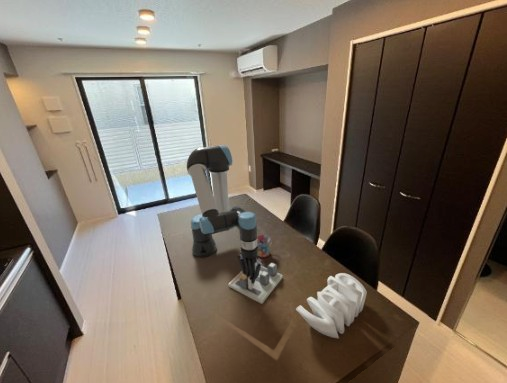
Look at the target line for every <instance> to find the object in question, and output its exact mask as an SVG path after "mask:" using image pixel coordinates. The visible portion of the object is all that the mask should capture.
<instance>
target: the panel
mask: <svg viewBox="0 0 507 383" xmlns="http://www.w3.org/2000/svg"><path fill="white" fill-rule="evenodd" d="M256 265H257V263H255V269H256ZM243 275H245V274H243V272H242V270H241V271H240V272H239V273H238V274H237V275H235V277H234V278H233V279H232V280H231V281H229V283H228V287H229V288H231V289H233V290H234V291H237V292H238V293H240V294H242V295H244V296H246V297H248V298H249V299H251V300H253V301H255V302H257V303H259V304H264V302H265V301H266V300H267V298H268V296H269V295H270V294H271V293H272V292H273V290H274V289H275V288H276V287H277V285H278V284H279V283H280V281H282V279H283V274H281V273H279V272H278V264H276V263H274V262H270V263H269V264H268V265H267V267H265V266H263V265H261V268H260V272H259V276H258V277H257V278H256V279H255V283H254V287H253V288H252V289H249V288H247V289H246V290H245V289H243V288H241V287H240V278H241V277H242V276H243Z"/></svg>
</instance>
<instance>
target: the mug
mask: <svg viewBox="0 0 507 383" xmlns="http://www.w3.org/2000/svg"><path fill="white" fill-rule="evenodd" d="M273 242H274V238H273V237H270V236H269V235H266V234H259V235H257V246H258V254H257V257H258V258H266V257H268V256H270V254H271V251H270V246H272V244H273Z"/></svg>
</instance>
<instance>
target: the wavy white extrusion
mask: <svg viewBox="0 0 507 383" xmlns="http://www.w3.org/2000/svg"><path fill="white" fill-rule="evenodd" d="M367 293H368V292H367V290H366V288H365V287H364V285H363V284H362V282H360V281H359V280H358V279H357V278H355V277H354V276H353V275H350V274H348V273H345V272H340V273H337V274H335V276H332V275H329V277H328V278H327V286H326V287H324V288H323V289H322V290H321V291H317V292H316V295H317V298H314V297H313V296H309V297H308V298H306V302H307V304H308V306H309V307H310V309H311V311H312V313H311V312H309V311H308V310H307V309H305V308H304V307H303V306H302V305H301V304H300V305H298V306H297V307H296V308H295V310H296V311H297V313H299V315H300V316H301V317H302V318H303V320H305V321H306V322H307V324H308V325H309V326H310V327H312V329H314V330H316V332H318V333H319V334H322V335H324V336H326V337H329V338H334V339H340V337H339V334H340V335H342V334H344V333H345V326H346V327H350V325H351V324H352V323H353V322H354V321H355V318H357V317H358V316H359V314H360V313H361V312H362V311H363V310H364V306H365V301H366V298H367V295H368V294H367ZM338 333H339V334H338Z"/></svg>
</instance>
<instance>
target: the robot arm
mask: <svg viewBox="0 0 507 383" xmlns="http://www.w3.org/2000/svg"><path fill="white" fill-rule="evenodd" d="M232 156H233V155H232V153H231V150H230V149H229V147H228V146H227V145H225V144H224V145H221V144H220V145H219V144H218V145H211V146H200V147H197V148H196V149H194V150H193V151H192V152H190V154H189V156H188V158H187V161H186V170H187V174H188V175H189V176H190V177H191V180H192V184H193V187H194V191H195V195H196V198H197V201H198V202H197V203H198V206H199V210H200V213H199V214H196V215H195V216H193V217H192V218H191V220H190V229H191V233H192V234H191V235H192V239H193V242H192V247H191V253H192V254H193V256H194V257H198V258H204V257H205V258H206V257H209V256H210V255H213V254H214V253H215V252H216V251H217V243H216V242H215V240H214V237H213V235H214V234H219V233H223V232H228V231H230V230H233V229H234V228H235V227H236V228H237V229H238V231H239V241H240V253H239V254H238V255H237V256H236V257H237V259H238V260H239V264H240V268H241V271H242V272H243V274H245V275H246V276H247V281H248V288H249V289H252V288H253V287H254V283H255V279H256V278H257V277H258V276H259V272H260V268H261V266H263V264H264V262H263V261H260V259H259V256H258V255H257V254H258V246H257V236H258V221H257V215H256V213H254V212H251V211H246V210H245V209H244V208H242V207H241V206H237V205H236V206H233V207H232V208H230V200H229V189H228V188H229V187H228V186H229V185H228V184H229V183H228V171H229V170H230V166H232V165H233V157H232ZM207 169H208V172H209V173H210V174H211V179H212V181H211V182H212V188H211V184H210V181H209V179H208V175H207ZM255 264H257V265H256V269H255Z"/></svg>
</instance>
